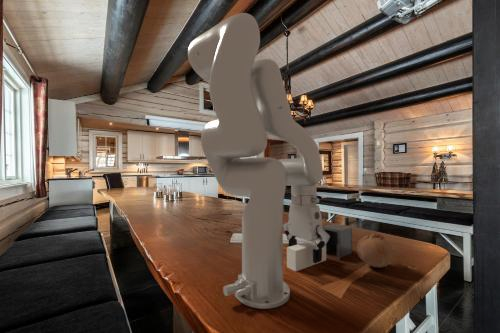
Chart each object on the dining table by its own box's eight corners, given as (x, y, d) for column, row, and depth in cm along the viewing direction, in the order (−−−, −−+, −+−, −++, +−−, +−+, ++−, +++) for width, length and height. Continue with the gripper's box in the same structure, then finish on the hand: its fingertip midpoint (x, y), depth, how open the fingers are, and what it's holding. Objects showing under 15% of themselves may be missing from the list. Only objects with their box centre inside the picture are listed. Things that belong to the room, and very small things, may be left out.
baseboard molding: (309, 247, 87) (304, 237, 99) (309, 239, 87) (304, 231, 99) (229, 245, 89) (233, 236, 101) (229, 238, 89) (233, 230, 101)
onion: (381, 261, 72) (381, 229, 72) (400, 274, 62) (400, 238, 63) (351, 260, 72) (351, 229, 72) (365, 274, 63) (365, 237, 63)
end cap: (338, 260, 72) (338, 232, 73) (316, 252, 80) (316, 227, 80) (354, 253, 78) (354, 228, 78) (332, 246, 85) (331, 223, 85)
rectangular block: (295, 272, 65) (295, 250, 65) (286, 267, 67) (286, 247, 68) (326, 260, 73) (326, 241, 73) (317, 257, 76) (317, 239, 76)
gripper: (336, 202, 65) (337, 263, 65) (291, 196, 79) (291, 246, 79) (320, 205, 60) (320, 270, 60) (275, 198, 74) (275, 251, 74)
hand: (304, 256), depth 69 cm, fingers open, 9 cm apart
